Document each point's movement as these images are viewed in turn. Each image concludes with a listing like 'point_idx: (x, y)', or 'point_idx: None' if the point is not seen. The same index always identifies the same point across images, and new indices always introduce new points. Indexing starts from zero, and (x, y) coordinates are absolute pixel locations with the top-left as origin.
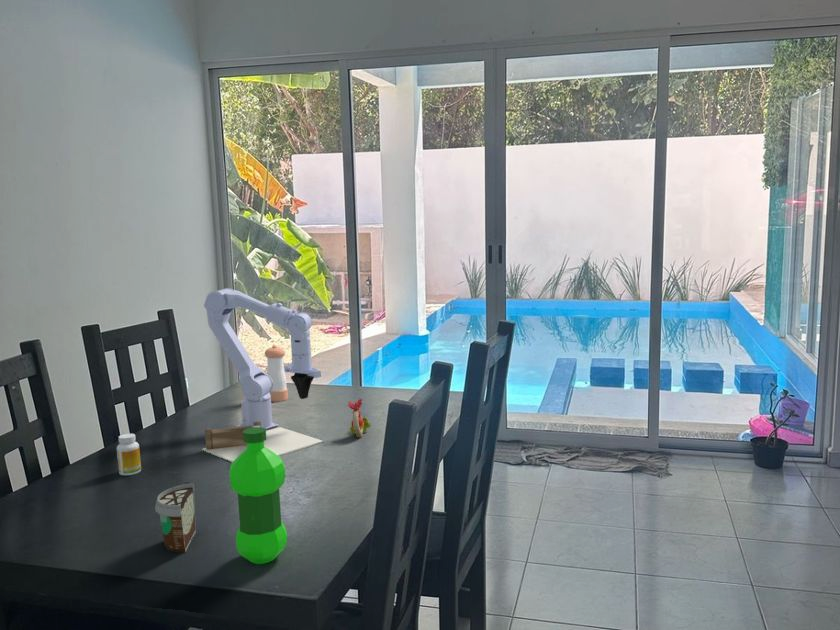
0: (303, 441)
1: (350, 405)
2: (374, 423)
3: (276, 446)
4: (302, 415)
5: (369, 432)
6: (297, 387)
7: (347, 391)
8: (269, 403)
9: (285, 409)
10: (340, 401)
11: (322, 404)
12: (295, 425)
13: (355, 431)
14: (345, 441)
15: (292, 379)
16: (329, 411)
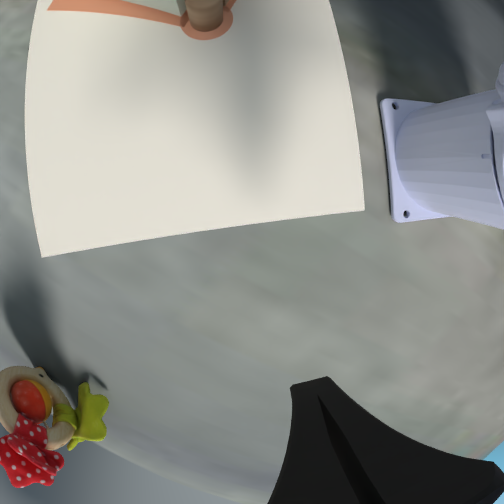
0: (77, 185)
1: (8, 443)
2: (156, 467)
3: (102, 62)
4: (423, 359)
5: None
6: (366, 436)
7: None
8: (480, 193)
9: (497, 334)
10: None
11: (440, 429)
12: (348, 286)
13: (14, 366)
14: (23, 319)
15: (465, 469)
16: None
